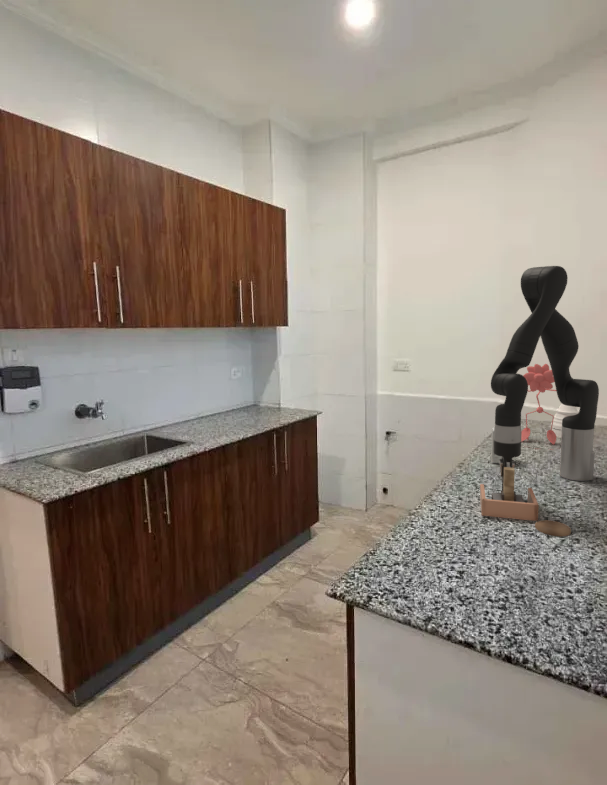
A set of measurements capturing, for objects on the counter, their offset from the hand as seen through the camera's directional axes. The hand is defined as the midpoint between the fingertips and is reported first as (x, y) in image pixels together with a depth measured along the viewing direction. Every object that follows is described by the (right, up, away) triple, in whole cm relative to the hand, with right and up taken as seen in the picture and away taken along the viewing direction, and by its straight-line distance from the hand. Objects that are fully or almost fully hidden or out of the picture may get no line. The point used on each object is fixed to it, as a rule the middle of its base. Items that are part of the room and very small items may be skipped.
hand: (505, 494), depth 136 cm
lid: (+2, -4, -22) cm, 22 cm away
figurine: (+39, +8, +57) cm, 69 cm away
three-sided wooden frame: (-3, -2, -8) cm, 9 cm away
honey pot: (+60, +11, +70) cm, 93 cm away
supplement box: (+14, +4, +35) cm, 38 cm away
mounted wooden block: (-3, -2, -8) cm, 9 cm away
